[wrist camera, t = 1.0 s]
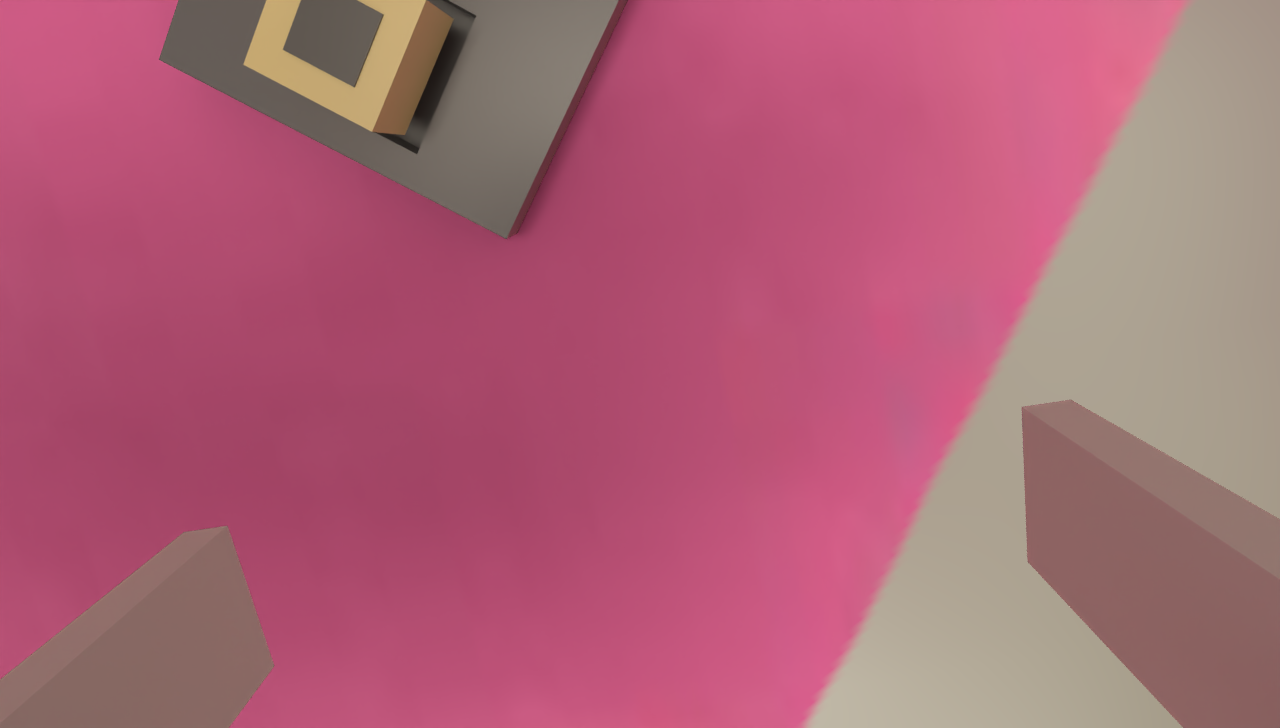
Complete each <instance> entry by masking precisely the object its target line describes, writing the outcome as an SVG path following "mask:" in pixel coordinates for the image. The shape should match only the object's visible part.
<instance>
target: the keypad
mask: <svg viewBox="0 0 1280 728" xmlns="http://www.w3.org/2000/svg"><path fill="white" fill-rule="evenodd" d="M427 1H429V2H430V3H432V4H433V5H434V6H436V7H437V8H439V9H440V10H442V11H443V12H444V13H446V14H447V15H449V16H450V17H451V18H453V19H454V20H453V22H452V25H451V27H450V29H449V32H448V34H447V36H446V39H445V41H444V44H443V46H442V48H441V51H440V53H439V55H438V58H437V60H436V63H435V65H434V67H433V70H432V72H431V74H430V77H429V79H428V81H427V84H426V86H425V89H424V91H423V93H422V96H421V98H420V100H419V103H418V105H417V108H416V110H415V112H414V115H413V117H412V119H411V122H410V124H409V127H408V129H407V131H406V134H405V135H399V134H389V133H378V132H371V131H369V130H368V129H366V128H364V127H362V126H360V125H358V124H356V123H354V122H352V121H350V120H348V119H346V118H345V117H343V116H341V115H339V114H337V113H335V112H333V111H331V110H329V109H327V108H325V107H323V106H322V105H320V104H318V103H316V102H314V101H312V100H310V99H308V98H306V97H304V96H302V95H300V94H299V93H297V92H295V91H293V90H291V89H289V88H287V87H285V86H283V85H281V84H279V83H278V82H276V81H274V80H272V79H270V78H268V77H266V76H264V75H262V74H260V73H258V72H256V71H255V70H253V69H251V68H249V67H247V66H245V65H243V64H244V61H245V58H246V56H247V53H248V50H249V47H250V44H251V42H252V39H253V36H254V33H255V30H256V28H257V25H258V22H259V19H260V17H261V14H262V11H263V8H264V5H265V3H266V0H179V1H178V4H177V7H176V10H175V13H174V16H173V19H172V22H171V25H170V28H169V31H168V34H167V37H166V40H165V43H164V46H163V49H162V52H161V55H160V58H159V60H161V61H163V62H164V63H166V64H168V65H170V66H172V67H174V68H176V69H178V70H180V71H182V72H184V73H186V74H188V75H190V76H192V77H194V78H195V79H197V80H199V81H201V82H203V83H205V84H207V85H209V86H211V87H213V88H215V89H217V90H219V91H221V92H223V93H224V94H226V95H228V96H230V97H232V98H234V99H236V100H238V101H240V102H242V103H244V104H246V105H248V106H250V107H252V108H254V109H255V110H257V111H259V112H261V113H263V114H265V115H267V116H269V117H271V118H273V119H275V120H277V121H279V122H281V123H283V124H285V125H286V126H288V127H290V128H292V129H294V130H296V131H298V132H300V133H302V134H304V135H306V136H308V137H310V138H312V139H314V140H316V141H317V142H319V143H321V144H323V145H325V146H327V147H329V148H331V149H333V150H335V151H337V152H339V153H341V154H343V155H345V156H346V157H348V158H350V159H352V160H354V161H356V162H358V163H360V164H362V165H364V166H366V167H368V168H370V169H372V170H374V171H376V172H377V173H379V174H381V175H383V176H385V177H387V178H389V179H391V180H393V181H395V182H397V183H399V184H401V185H403V186H405V187H407V188H408V189H410V190H412V191H414V192H416V193H418V194H420V195H422V196H424V197H426V198H428V199H430V200H432V201H434V202H436V203H437V204H439V205H441V206H443V207H445V208H447V209H449V210H451V211H453V212H455V213H457V214H459V215H461V216H463V217H465V218H467V219H468V220H470V221H472V222H474V223H476V224H478V225H480V226H482V227H484V228H486V229H488V230H490V231H492V232H494V233H496V234H498V235H499V236H501V237H503V238H505V239H507V238H509V237H511V236H513V235H514V234H516V233H517V232H518V230H519V228H520V226H521V224H522V222H523V220H524V218H525V216H526V213H527V211H528V209H529V207H530V205H531V203H532V201H533V199H534V197H535V194H536V192H537V190H538V188H539V186H540V184H541V182H542V180H543V178H544V176H545V173H546V171H547V169H548V167H549V165H550V163H551V161H552V159H553V157H554V154H555V152H556V150H557V148H558V146H559V144H560V142H561V140H562V138H563V135H564V133H565V131H566V129H567V127H568V125H569V123H570V121H571V119H572V116H573V114H574V112H575V110H576V108H577V106H578V104H579V102H580V100H581V98H582V95H583V93H584V91H585V89H586V87H587V85H588V83H589V81H590V79H591V76H592V74H593V72H594V70H595V68H596V66H597V64H598V62H599V60H600V57H601V55H602V53H603V51H604V49H605V47H606V45H607V43H608V41H609V39H610V36H611V34H612V32H613V30H614V28H615V26H616V24H617V22H618V20H619V17H620V15H621V13H622V11H623V9H624V7H625V5H626V3H627V1H628V0H427Z"/></svg>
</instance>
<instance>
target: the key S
mask: <svg viewBox="0 0 1280 728" xmlns="http://www.w3.org/2000/svg"><path fill="white" fill-rule="evenodd" d="M453 20H454V19H453V18H451V17H450V16H449V15H447V14H446V13H444V12H443V11H442V10H440V9H439V8H437V7H436V6H434V5H433V4H432V3H430V2H429V1H427V0H266V3H265V5H264V8H263V11H262V14H261V17H260V19H259V22H258V25H257V28H256V30H255V33H254V36H253V39H252V42H251V44H250V47H249V50H248V53H247V56H246V58H245V61H244V64H243V65H245V66H247V67H249V68H251V69H253V70H255V71H256V72H258V73H260V74H262V75H264V76H266V77H268V78H270V79H272V80H274V81H276V82H278V83H279V84H281V85H283V86H285V87H287V88H289V89H291V90H293V91H295V92H297V93H299V94H300V95H302V96H304V97H306V98H308V99H310V100H312V101H314V102H316V103H318V104H320V105H322V106H323V107H325V108H327V109H329V110H331V111H333V112H335V113H337V114H339V115H341V116H343V117H345V118H346V119H348V120H350V121H352V122H354V123H356V124H358V125H360V126H362V127H364V128H366V129H368V130H369V131H371V132H378V133H389V134H399V135H405V134H406V131H407V129H408V127H409V124H410V122H411V119H412V117H413V115H414V112H415V110H416V108H417V105H418V103H419V100H420V98H421V96H422V93H423V91H424V89H425V86H426V84H427V81H428V79H429V77H430V74H431V72H432V70H433V67H434V65H435V63H436V60H437V58H438V55H439V53H440V51H441V48H442V46H443V44H444V41H445V39H446V36H447V34H448V32H449V29H450V27H451V25H452V22H453Z"/></svg>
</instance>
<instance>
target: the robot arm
mask: <svg viewBox="0 0 1280 728" xmlns="http://www.w3.org/2000/svg"><path fill="white" fill-rule="evenodd" d="M1022 427H1023V454H1024V478H1025V479H1024V480H1025V504H1026V532H1027V557H1028V563H1030V565H1031V566H1032V567H1033V568H1034V569H1035V570H1036V571H1037V572H1038V573H1039V574H1040V575H1041V576H1042V578H1044V580H1045V581H1046V582H1047V583H1048V584H1049V585H1050V586H1051V587H1052V588H1053V589H1054V590H1055V591H1056V592H1057V594H1058V595H1059V596H1060V597H1061V598H1062V599H1063V600H1064V601H1065V602H1066V603H1067V604H1068V605H1069V606H1070V607H1071V608H1072V609H1073V611H1074V612H1075V613H1076V614H1077V615H1078V616H1079V617H1080V618H1081V619H1082V620H1083V621H1084V622H1085V623H1086V624H1087V625H1088V626H1089V628H1090V629H1091V630H1092V631H1093V632H1094V633H1095V634H1096V635H1097V636H1098V637H1099V638H1100V639H1101V640H1102V641H1103V643H1104V644H1106V646H1107V647H1108V648H1109V649H1110V650H1111V651H1112V652H1113V653H1114V654H1115V655H1116V656H1117V657H1118V659H1119V660H1120V661H1121V662H1122V663H1123V664H1124V665H1125V666H1126V667H1127V668H1128V669H1129V670H1130V671H1131V672H1132V673H1133V674H1134V676H1135V677H1136V678H1137V679H1138V680H1139V681H1140V682H1141V683H1142V684H1143V685H1144V686H1145V687H1146V688H1147V689H1148V690H1149V691H1150V693H1151V694H1152V695H1153V696H1154V697H1155V698H1156V699H1157V700H1158V701H1159V702H1160V703H1161V704H1162V705H1163V706H1164V708H1166V710H1167V711H1168V712H1169V713H1170V714H1171V715H1172V716H1173V717H1174V718H1175V719H1176V720H1177V721H1178V722H1179V724H1180V725H1181V726H1182V727H1183V728H1280V519H1279V518H1277V517H1275V516H1273V515H1271V514H1270V513H1268V512H1266V511H1265V510H1263V509H1261V508H1259V507H1258V506H1256V505H1254V504H1252V503H1251V502H1249V501H1247V500H1245V499H1244V498H1242V497H1240V496H1238V495H1237V494H1235V493H1233V492H1231V491H1230V490H1228V489H1226V488H1224V487H1222V486H1221V485H1219V484H1217V483H1215V482H1214V481H1212V480H1210V479H1208V478H1207V477H1205V476H1203V475H1201V474H1200V473H1198V472H1196V471H1195V470H1193V469H1191V468H1189V467H1188V466H1186V465H1184V464H1182V463H1181V462H1179V461H1177V460H1175V459H1174V458H1172V457H1170V456H1168V455H1166V454H1165V453H1163V452H1161V451H1160V450H1158V449H1156V448H1154V447H1153V446H1151V445H1149V444H1147V443H1146V442H1144V441H1142V440H1140V439H1139V438H1137V437H1135V436H1133V435H1132V434H1130V433H1128V432H1126V431H1125V430H1123V429H1121V428H1119V427H1118V426H1116V425H1114V424H1112V423H1111V422H1109V421H1107V420H1106V419H1104V418H1102V417H1100V416H1099V415H1097V414H1095V413H1093V412H1091V411H1090V410H1088V409H1086V408H1085V407H1082V406H1081V405H1079V404H1078V403H1076V402H1074V401H1072V400H1066V401H1059V402H1052V403H1046V404H1039V405H1033V406H1025V407H1022ZM273 667H274V664H273V661H272V658H271V655H270V652H269V649H268V646H267V643H266V640H265V637H264V634H263V631H262V628H261V625H260V622H259V619H258V616H257V613H256V610H255V607H254V604H253V601H252V598H251V595H250V592H249V589H248V586H247V583H246V580H245V577H244V574H243V571H242V568H241V565H240V562H239V559H238V556H237V553H236V550H235V547H234V544H233V541H232V538H231V535H230V532H229V529H228V526H222V527H215V528H208V529H202V530H195V531H188V532H183V533H182V534H181V535H180V536H178V537H177V538H176V539H175V540H173V541H172V542H171V543H170V544H168V545H167V546H166V547H165V548H163V549H162V550H161V551H160V552H158V553H157V554H156V555H155V556H154V557H152V558H151V559H150V560H149V561H147V562H146V563H145V564H144V565H142V566H141V567H140V568H139V569H137V570H136V571H135V572H134V573H132V574H131V575H130V576H129V577H127V578H126V579H125V580H124V581H122V582H121V583H120V584H119V585H117V586H116V587H115V588H114V589H112V590H111V591H110V592H109V593H107V594H106V595H105V596H104V597H102V598H101V599H100V600H99V601H97V602H96V603H95V604H94V605H92V606H91V607H90V608H89V609H87V610H86V611H85V612H84V613H82V614H81V615H80V616H79V617H77V618H76V619H75V620H74V621H72V622H71V623H70V624H69V625H67V626H66V627H65V628H64V629H62V630H61V631H60V632H59V633H58V634H56V635H55V636H54V637H53V638H51V639H50V640H49V641H48V642H46V643H45V644H44V645H43V646H41V647H40V648H39V649H38V650H36V651H35V652H34V653H33V654H31V655H30V656H29V657H28V658H26V659H25V660H24V661H23V662H21V663H20V664H19V665H18V666H16V667H15V668H14V669H13V670H11V671H10V672H9V673H8V674H6V675H5V676H4V677H3V678H1V679H0V728H229V727H230V725H231V724H232V723H233V721H234V720H235V719H236V717H237V716H238V715H239V713H240V712H241V710H242V709H243V708H244V706H245V705H246V704H247V702H248V701H249V700H250V698H251V697H252V696H253V694H254V693H255V692H256V690H257V689H258V687H259V686H260V685H261V683H262V682H263V681H264V679H265V678H266V677H267V675H268V674H269V673H270V671H271V670H272V669H273Z"/></svg>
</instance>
